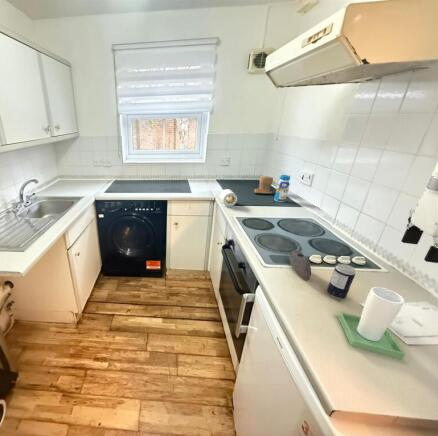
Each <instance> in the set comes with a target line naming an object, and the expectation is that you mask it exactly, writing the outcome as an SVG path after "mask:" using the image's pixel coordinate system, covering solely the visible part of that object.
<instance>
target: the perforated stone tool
mask: <svg viewBox="0 0 438 436" xmlns="http://www.w3.org/2000/svg"><path fill="white" fill-rule="evenodd" d="M288 261H289V264H290V265H291V268H292V269H293V270H294V271H295V273H297V275H298V276H299V277H300V278H302V279H303V280H305V281H308V280H310V278H311V277H312V267H311V265H310V263H309V260H308V259H307V257H306V256H305V254H304V253H302V251H300V250H297V249H294V250H291V251H290V253H289V256H288Z"/></svg>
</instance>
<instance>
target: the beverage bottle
mask: <svg viewBox="0 0 438 436" xmlns="http://www.w3.org/2000/svg"><path fill="white" fill-rule="evenodd" d="M290 179H291V175H289V174H281V175H280V176H279V181H278V182H277V185H276V189H275V194H274V198H273V200H274V201H275V202H277V203H286V201H287V196H288V193H289V189H290V187H289V186H290V185H291V184H290Z"/></svg>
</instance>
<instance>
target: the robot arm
mask: <svg viewBox="0 0 438 436" xmlns="http://www.w3.org/2000/svg"><path fill="white" fill-rule="evenodd" d="M407 222H408V223H407V224H406V229H405V231H404V234H403V236H402V238H401V240H400V241H401V243H403V244H409V245H418V244H419V242H420V240H421V238H422V236H423V234H424V233H426V234H427V235H429V236H431V237H432V240H433V245H430V247H429V249H428V250H427V253H425V254H426V255H425V256H424V259H423V260H424V261H425V262H426V263H433V264H438V161H437V162H436V164H435V167H434V169H433V171H432V174H431V176H430V177H429V180H428V182H427V184H426V187H425V190H424V192H423V193H422V196H421V197H420V198H419V200H418V202H417V204H416V206H415V208H411V209H410V210H409V217H408V218H407Z"/></svg>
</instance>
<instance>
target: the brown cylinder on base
mask: <svg viewBox="0 0 438 436" xmlns="http://www.w3.org/2000/svg"><path fill="white" fill-rule="evenodd" d="M258 182H259V183H258V184H259V186H258V188H254V194H259V195H260V194H262V195H271V194H273V191H272V190H271V187H272V185H273V183H274V177H273V176H266V175H260V176H259V180H258Z"/></svg>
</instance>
